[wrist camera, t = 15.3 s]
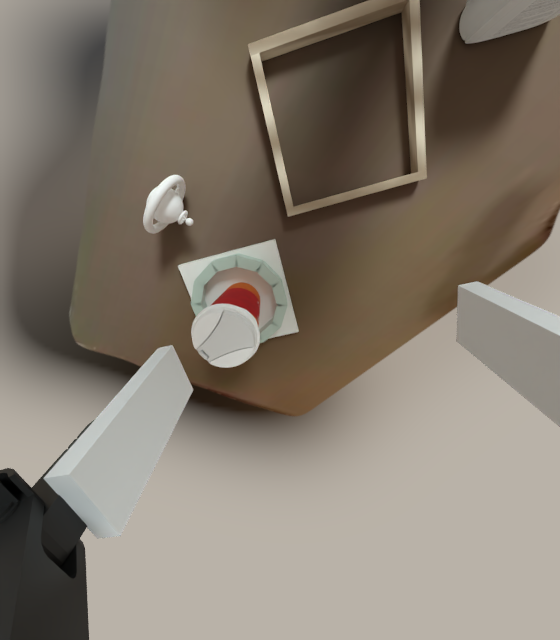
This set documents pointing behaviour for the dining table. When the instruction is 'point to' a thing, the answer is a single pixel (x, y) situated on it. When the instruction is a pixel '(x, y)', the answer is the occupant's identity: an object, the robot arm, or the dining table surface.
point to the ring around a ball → (166, 205)
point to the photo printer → (503, 17)
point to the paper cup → (229, 327)
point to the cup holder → (249, 267)
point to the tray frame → (379, 6)
